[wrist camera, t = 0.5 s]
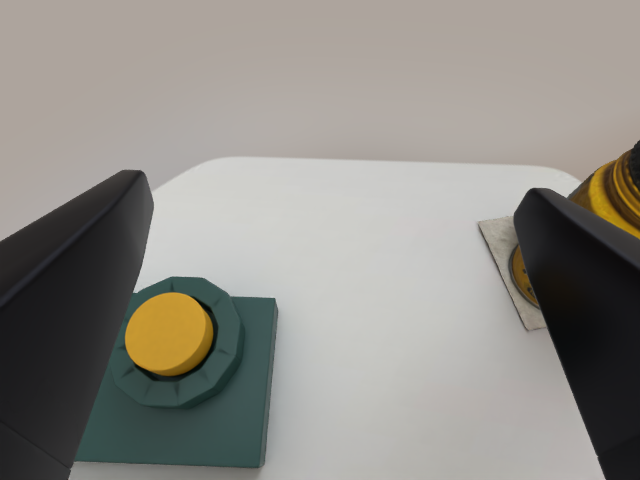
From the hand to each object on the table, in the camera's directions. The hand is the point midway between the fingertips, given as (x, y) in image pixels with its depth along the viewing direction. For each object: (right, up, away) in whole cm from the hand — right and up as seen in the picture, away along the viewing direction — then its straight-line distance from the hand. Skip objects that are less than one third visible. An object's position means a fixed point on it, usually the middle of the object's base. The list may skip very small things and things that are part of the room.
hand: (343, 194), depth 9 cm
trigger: (-8, -6, +12) cm, 16 cm away
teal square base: (-10, -9, +14) cm, 19 cm away
